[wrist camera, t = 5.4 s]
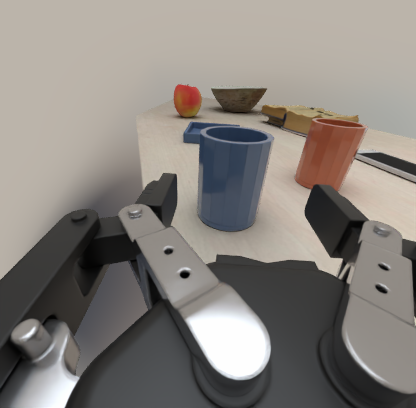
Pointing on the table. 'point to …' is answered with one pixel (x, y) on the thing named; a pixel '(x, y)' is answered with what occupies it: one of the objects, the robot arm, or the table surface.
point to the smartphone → (388, 163)
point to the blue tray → (198, 131)
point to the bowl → (238, 97)
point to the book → (299, 117)
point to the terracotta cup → (329, 152)
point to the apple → (187, 100)
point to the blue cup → (232, 175)
